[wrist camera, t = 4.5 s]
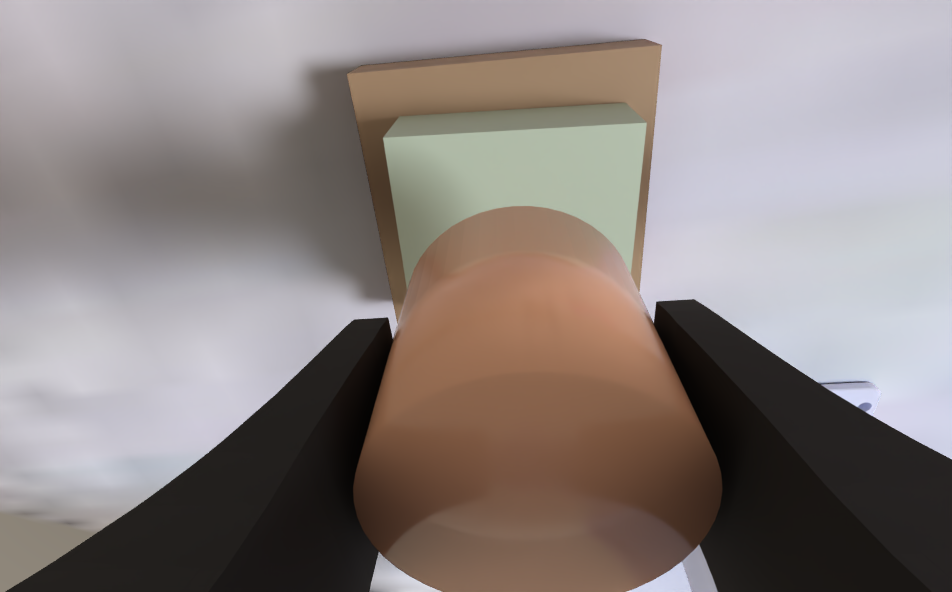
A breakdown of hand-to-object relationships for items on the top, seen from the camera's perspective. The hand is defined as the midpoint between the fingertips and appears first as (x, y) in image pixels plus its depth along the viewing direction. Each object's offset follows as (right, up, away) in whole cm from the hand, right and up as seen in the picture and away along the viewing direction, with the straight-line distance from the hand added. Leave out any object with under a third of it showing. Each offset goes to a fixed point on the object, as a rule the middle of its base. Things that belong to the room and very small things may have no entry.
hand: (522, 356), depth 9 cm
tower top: (0, +3, +6) cm, 7 cm away
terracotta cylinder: (0, +1, +1) cm, 1 cm away
